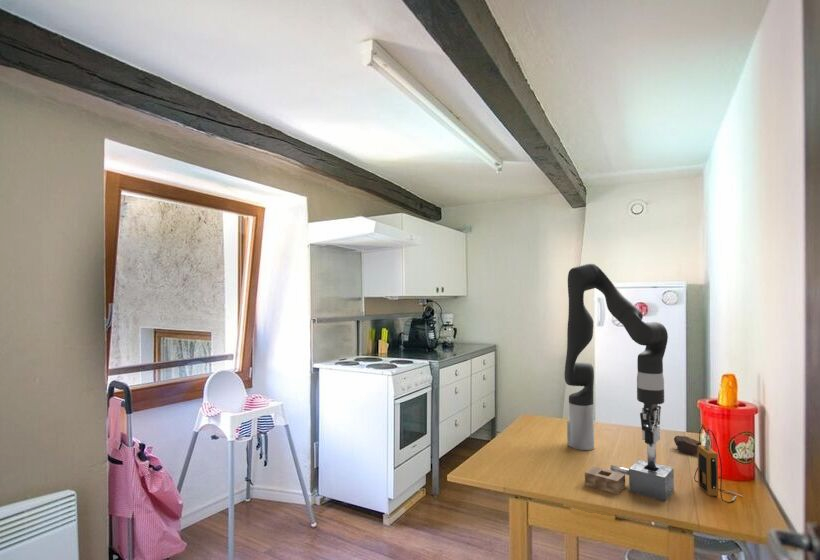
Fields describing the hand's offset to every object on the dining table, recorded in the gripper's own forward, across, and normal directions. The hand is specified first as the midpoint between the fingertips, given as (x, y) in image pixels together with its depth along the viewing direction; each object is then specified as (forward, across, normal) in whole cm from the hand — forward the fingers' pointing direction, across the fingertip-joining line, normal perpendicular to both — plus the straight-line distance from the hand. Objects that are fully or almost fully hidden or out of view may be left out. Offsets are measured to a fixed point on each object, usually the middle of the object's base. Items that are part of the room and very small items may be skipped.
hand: (651, 441), depth 141 cm
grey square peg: (+7, 0, 0) cm, 7 cm away
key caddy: (+15, -6, +12) cm, 20 cm away
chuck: (+15, 0, +4) cm, 16 cm away
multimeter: (+15, +13, -16) cm, 26 cm away
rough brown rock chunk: (+16, +46, -1) cm, 49 cm away
